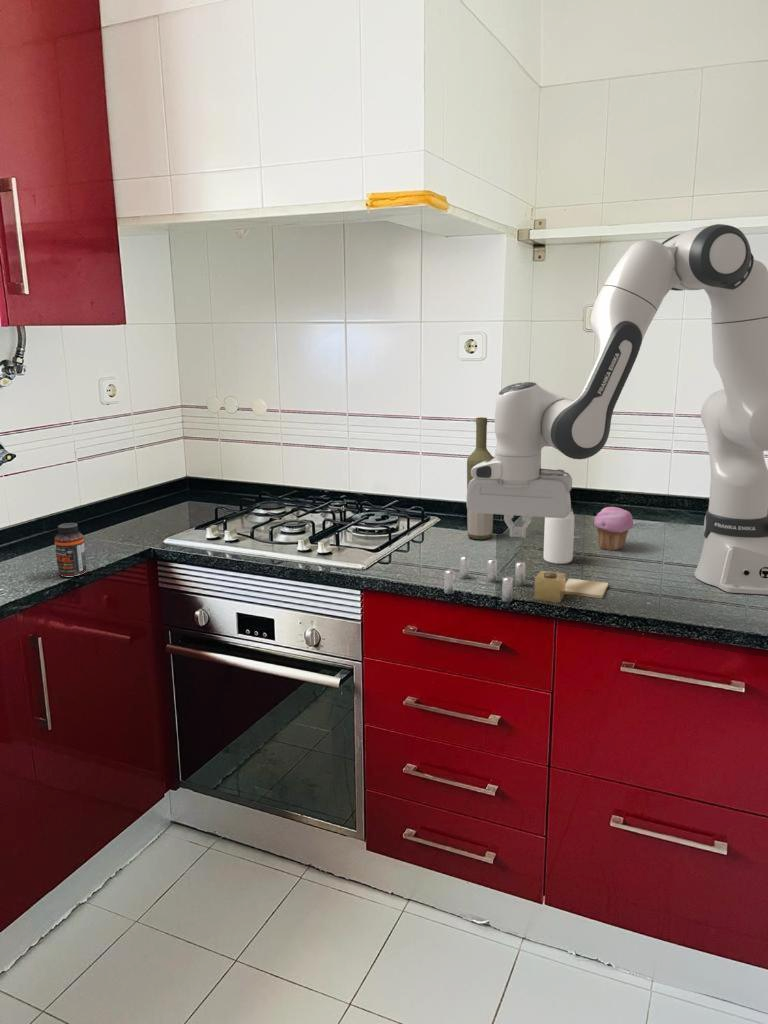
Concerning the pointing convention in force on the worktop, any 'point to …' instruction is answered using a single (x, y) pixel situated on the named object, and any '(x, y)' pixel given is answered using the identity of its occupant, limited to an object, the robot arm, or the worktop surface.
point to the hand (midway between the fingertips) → (517, 536)
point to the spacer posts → (491, 577)
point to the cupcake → (613, 527)
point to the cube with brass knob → (549, 586)
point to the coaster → (585, 588)
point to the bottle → (476, 522)
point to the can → (559, 539)
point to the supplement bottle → (70, 550)
